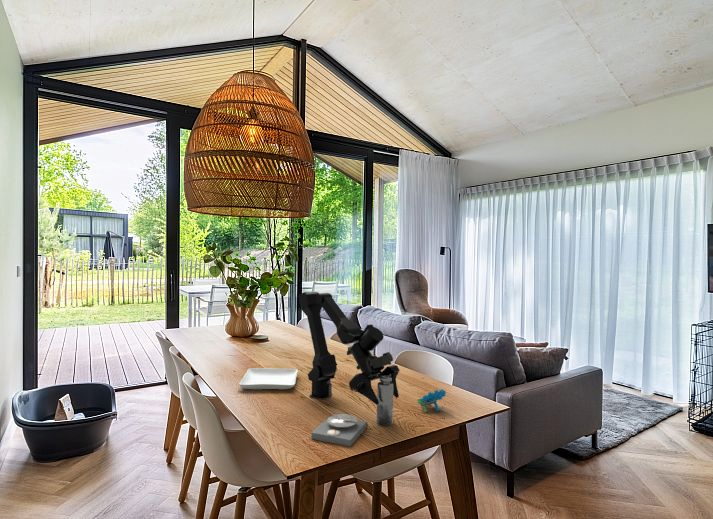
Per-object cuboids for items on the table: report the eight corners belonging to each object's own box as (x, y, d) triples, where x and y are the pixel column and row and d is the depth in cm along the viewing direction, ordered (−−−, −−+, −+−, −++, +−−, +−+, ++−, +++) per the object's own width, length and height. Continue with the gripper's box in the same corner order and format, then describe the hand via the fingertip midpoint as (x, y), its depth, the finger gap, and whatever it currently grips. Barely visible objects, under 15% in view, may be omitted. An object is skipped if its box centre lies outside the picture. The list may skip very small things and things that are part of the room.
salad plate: (294, 392, 164) (294, 383, 164) (238, 392, 163) (238, 383, 163) (298, 376, 186) (298, 368, 185) (248, 375, 184) (248, 367, 184)
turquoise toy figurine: (439, 398, 157) (448, 385, 150) (446, 413, 153) (455, 401, 146) (412, 405, 153) (419, 392, 146) (418, 421, 150) (427, 408, 142)
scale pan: (322, 424, 128) (322, 422, 128) (334, 413, 136) (334, 412, 136) (350, 429, 125) (350, 427, 125) (361, 418, 133) (361, 416, 133)
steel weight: (374, 424, 136) (375, 378, 135) (379, 418, 140) (380, 374, 140) (389, 427, 134) (391, 380, 134) (394, 421, 139) (395, 376, 138)
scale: (311, 438, 125) (311, 430, 125) (331, 420, 138) (331, 413, 138) (350, 446, 120) (350, 438, 120) (366, 427, 134) (367, 420, 134)
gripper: (356, 348, 133) (381, 393, 125) (396, 340, 146) (421, 381, 138) (338, 368, 139) (361, 412, 131) (378, 359, 152) (402, 398, 144)
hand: (388, 400), depth 136 cm, fingers open, 9 cm apart
